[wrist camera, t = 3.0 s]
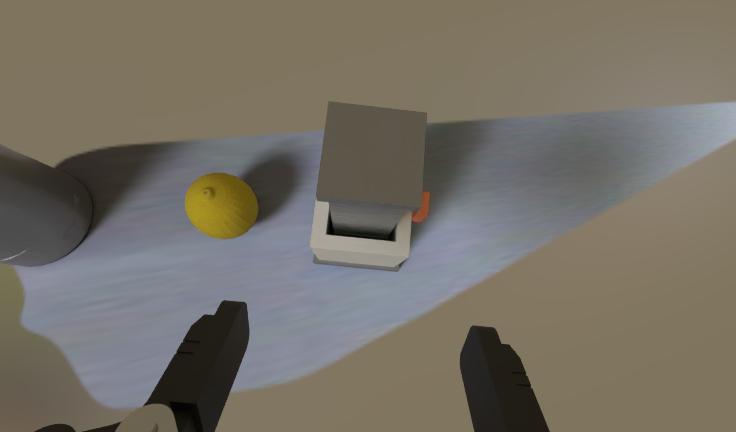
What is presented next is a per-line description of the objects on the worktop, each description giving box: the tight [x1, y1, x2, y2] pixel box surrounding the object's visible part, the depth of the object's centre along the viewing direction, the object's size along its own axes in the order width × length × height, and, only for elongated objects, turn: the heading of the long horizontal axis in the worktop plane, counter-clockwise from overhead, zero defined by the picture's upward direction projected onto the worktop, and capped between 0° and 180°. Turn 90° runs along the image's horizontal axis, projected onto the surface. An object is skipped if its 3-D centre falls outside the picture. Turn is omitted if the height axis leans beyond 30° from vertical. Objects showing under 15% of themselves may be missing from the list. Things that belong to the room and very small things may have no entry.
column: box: [316, 102, 427, 241], centre depth 24 cm, size 5×5×17 cm
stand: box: [310, 191, 430, 272], centre depth 29 cm, size 8×8×12 cm
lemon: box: [185, 173, 258, 239], centre depth 30 cm, size 6×6×8 cm
